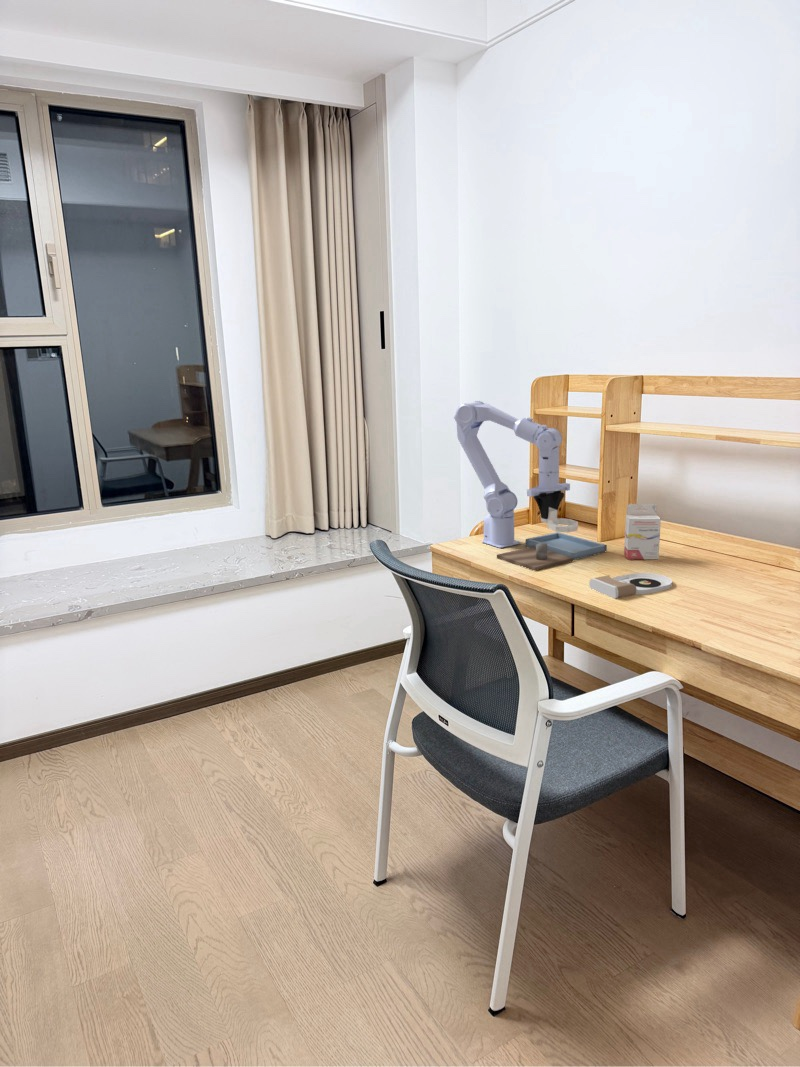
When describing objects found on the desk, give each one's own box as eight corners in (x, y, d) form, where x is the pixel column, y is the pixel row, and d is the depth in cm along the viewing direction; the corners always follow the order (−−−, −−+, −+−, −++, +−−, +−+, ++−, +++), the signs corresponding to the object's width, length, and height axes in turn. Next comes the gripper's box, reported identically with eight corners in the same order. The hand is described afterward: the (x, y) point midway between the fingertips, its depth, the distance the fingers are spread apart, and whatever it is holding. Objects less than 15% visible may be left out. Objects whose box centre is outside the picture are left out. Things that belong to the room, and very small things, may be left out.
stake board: (496, 558, 213) (496, 541, 212) (534, 549, 220) (534, 533, 219) (534, 570, 200) (534, 552, 198) (573, 561, 206) (573, 543, 205)
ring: (533, 522, 217) (534, 509, 216) (554, 518, 221) (555, 505, 220) (561, 533, 208) (562, 520, 206) (583, 529, 212) (584, 515, 210)
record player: (586, 576, 184) (648, 564, 193) (586, 588, 185) (647, 576, 193) (619, 589, 174) (683, 576, 182) (618, 602, 175) (682, 588, 183)
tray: (525, 545, 224) (525, 539, 224) (557, 538, 231) (557, 532, 230) (573, 560, 208) (573, 553, 207) (606, 551, 214) (606, 545, 214)
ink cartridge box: (627, 560, 206) (629, 507, 202) (623, 555, 210) (625, 504, 207) (659, 559, 205) (661, 507, 201) (655, 554, 209) (657, 503, 206)
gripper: (538, 476, 207) (538, 523, 211) (577, 470, 214) (576, 516, 218) (522, 473, 213) (522, 519, 217) (560, 467, 220) (560, 512, 224)
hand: (548, 517), depth 218 cm, fingers closed on ring, 2 cm apart
